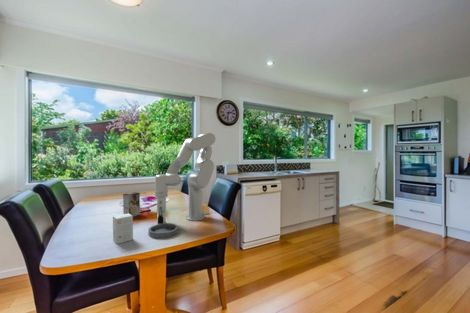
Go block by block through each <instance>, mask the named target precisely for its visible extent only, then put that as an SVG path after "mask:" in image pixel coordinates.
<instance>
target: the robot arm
mask: <svg viewBox="0 0 470 313" xmlns="http://www.w3.org/2000/svg"><path fill="white" fill-rule="evenodd" d="M215 142H216V135H215V134H214V133H212V132H203V133H199V134H198V135H197V137H189V138H186V139H185V140H184V142H183V144H182V145H181V147H180V149H179V152H178V154H177V156H176V158H175V159H174V160H173V161H171V163H170V165H169V167H168V169H167V170H166V171H165V172H166V173H165V174H164V173H163V174H161V173H160V174H157V175H155V177H154V178H155V185H154V187H155V188H154V197H155V198H156V209H157V210H156V213H157V214H158V224H163V213H166V212H167V197H168V194H169V192H168V190H169V186H170V187H177V186H179V185H180V184H181V182H182V177H181V176H180V175H178V173H179V171H180V170H181V169H182V168H183V167H185V166H186V165H187V164H189V162H190V160H191V158H192V157H193V154H194V152H197V151H199V154H198V155H197V158H196V161H195V163H194V169H195V170H196V171H197V172H191V173H190V174H189V175H188V177H187V185H188V186H187V187H188V188H187V189H188V214H187V215H186V220H188V221H195V222H196V221H201V220H204V219H206V218H205V216H209V215H210V212H209V211H208V212H207V211H204V210H203V192H204V191H203V189H205V188H206V187H207V186H208V185H209V183H210V180H211V178H212V175H213V172H214V169H215V165H214V162H213V161H212V159H211V157H212V154H213V148H212V145H214V144H215Z"/></svg>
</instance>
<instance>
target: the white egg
mask: <svg viewBox="0 0 470 313" xmlns="http://www.w3.org/2000/svg"><path fill="white" fill-rule="evenodd" d="M166 216H167V214H166V212H165V213H163V224H165V223H167V222H166V220H167V217H166ZM156 220H157V222H156V225H158V213H157V219H156Z"/></svg>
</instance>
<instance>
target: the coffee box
mask: <svg viewBox="0 0 470 313" xmlns="http://www.w3.org/2000/svg"><path fill="white" fill-rule="evenodd" d="M140 194H141V193H140V192H136V191H132V192H128V193H122V202H123V207H122V210H123V213H122V214H128V213H129V214H131V215H132V216H133V217H135V216H140V214H141V200H140V199H141V198H140V196H141V195H140Z"/></svg>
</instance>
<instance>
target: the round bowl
mask: <svg viewBox="0 0 470 313" xmlns="http://www.w3.org/2000/svg"><path fill="white" fill-rule="evenodd" d="M147 231H148V232H147V233H148V237H150V238H152V239H161V240H162V239H168V238H172V237H174V236H176V235H178V233H179V226H178V225H177V224H175V223H169V222H168V223H167V222H166V223H165V224H158V225H157V224H155V225H151V227H148V230H147Z"/></svg>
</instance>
